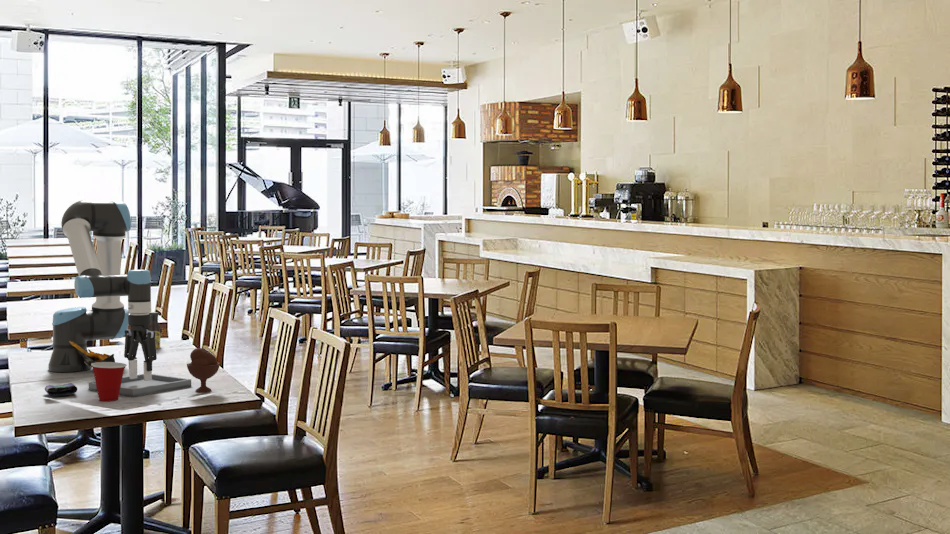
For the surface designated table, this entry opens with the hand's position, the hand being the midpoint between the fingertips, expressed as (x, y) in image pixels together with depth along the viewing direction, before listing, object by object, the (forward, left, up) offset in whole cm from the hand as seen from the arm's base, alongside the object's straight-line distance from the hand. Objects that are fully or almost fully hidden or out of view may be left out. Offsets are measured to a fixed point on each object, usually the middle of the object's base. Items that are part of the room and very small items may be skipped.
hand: (140, 379), depth 309 cm
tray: (0, 0, -3) cm, 3 cm away
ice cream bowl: (+23, +8, -3) cm, 24 cm away
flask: (-8, -24, -4) cm, 26 cm away
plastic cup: (+9, -19, -3) cm, 21 cm away
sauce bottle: (-57, +49, -3) cm, 75 cm away
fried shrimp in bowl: (-33, +10, -3) cm, 35 cm away
